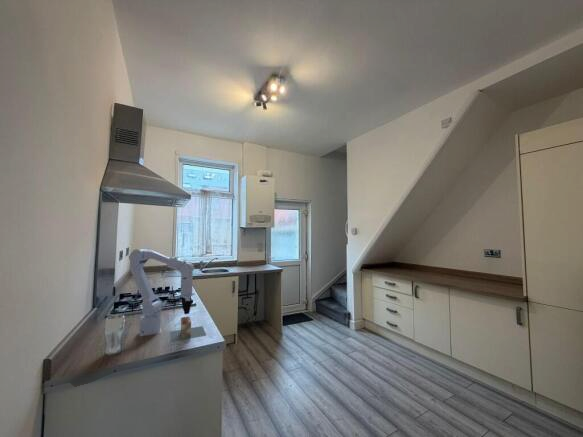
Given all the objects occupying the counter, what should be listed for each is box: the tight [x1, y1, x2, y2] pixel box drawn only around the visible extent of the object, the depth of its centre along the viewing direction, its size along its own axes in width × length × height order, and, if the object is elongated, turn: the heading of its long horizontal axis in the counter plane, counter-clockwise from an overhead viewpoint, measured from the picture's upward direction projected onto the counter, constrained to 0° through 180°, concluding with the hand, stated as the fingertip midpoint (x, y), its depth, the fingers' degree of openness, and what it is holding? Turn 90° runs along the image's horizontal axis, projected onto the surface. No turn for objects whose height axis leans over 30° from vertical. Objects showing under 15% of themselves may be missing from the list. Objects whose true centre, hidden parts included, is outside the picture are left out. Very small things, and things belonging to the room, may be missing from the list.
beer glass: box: [104, 313, 126, 356], centre depth 107 cm, size 7×7×15 cm
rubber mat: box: [169, 325, 207, 343], centre depth 124 cm, size 16×14×1 cm
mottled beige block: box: [180, 316, 192, 338], centre depth 124 cm, size 4×9×7 cm, turn 28°
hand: (185, 311), depth 128 cm, fingers open, 7 cm apart
